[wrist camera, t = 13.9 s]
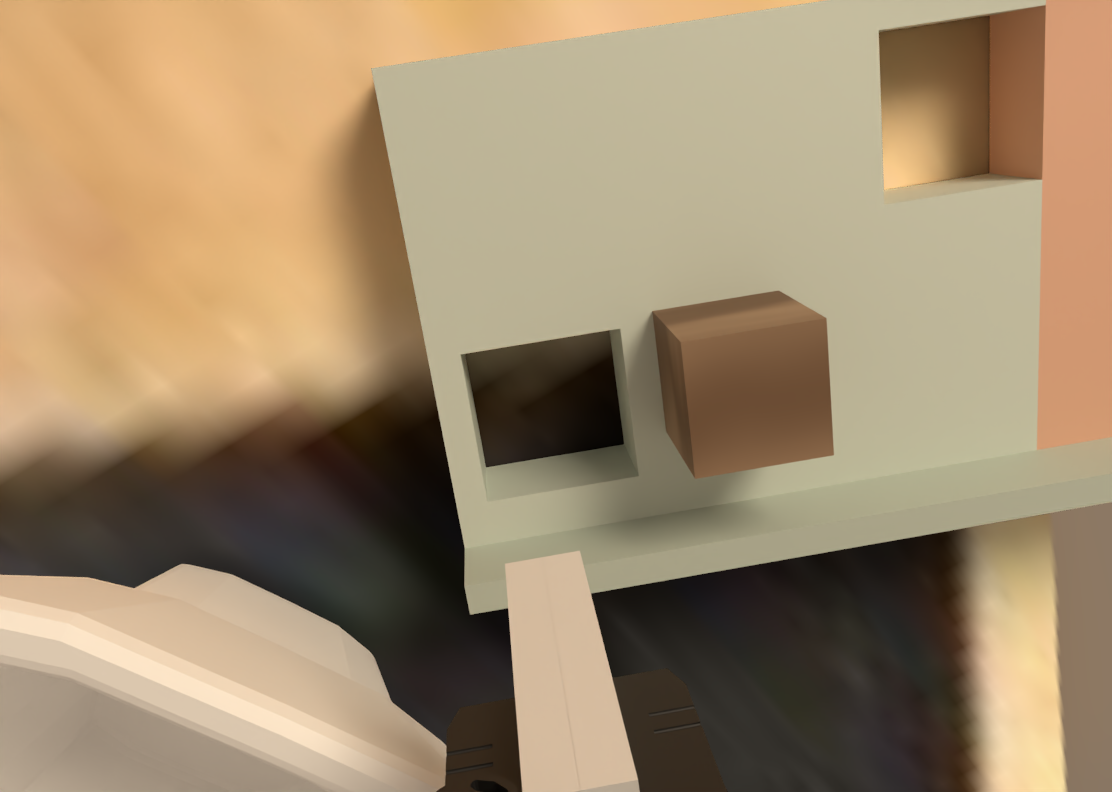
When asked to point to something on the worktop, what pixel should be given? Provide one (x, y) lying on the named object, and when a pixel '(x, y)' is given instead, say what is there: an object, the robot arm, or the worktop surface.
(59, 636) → the bowl
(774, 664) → the worktop surface
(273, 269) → the worktop surface
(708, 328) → the walnut block
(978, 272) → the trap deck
